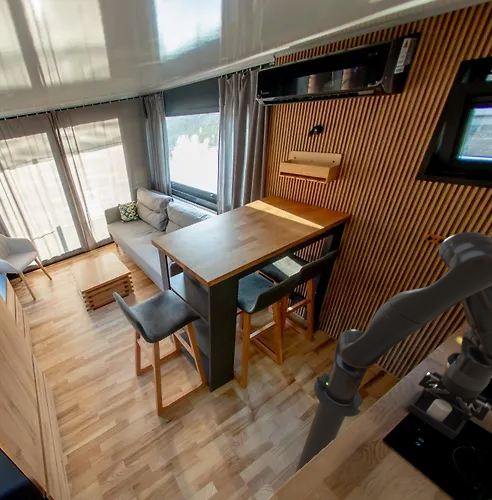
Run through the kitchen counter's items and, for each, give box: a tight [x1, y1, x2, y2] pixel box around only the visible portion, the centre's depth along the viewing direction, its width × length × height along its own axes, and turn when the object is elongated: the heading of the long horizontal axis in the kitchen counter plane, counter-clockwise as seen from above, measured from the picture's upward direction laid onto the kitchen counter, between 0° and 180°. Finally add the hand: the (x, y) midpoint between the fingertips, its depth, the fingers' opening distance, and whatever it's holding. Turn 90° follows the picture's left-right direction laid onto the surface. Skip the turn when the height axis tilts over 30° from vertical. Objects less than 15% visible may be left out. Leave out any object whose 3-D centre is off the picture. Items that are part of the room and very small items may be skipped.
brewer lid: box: [427, 371, 487, 412], centre depth 86 cm, size 11×11×5 cm
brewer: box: [406, 387, 467, 441], centre depth 88 cm, size 10×11×4 cm
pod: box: [426, 399, 452, 422], centre depth 86 cm, size 4×4×7 cm
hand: (443, 406), depth 85 cm, fingers open, 8 cm apart
